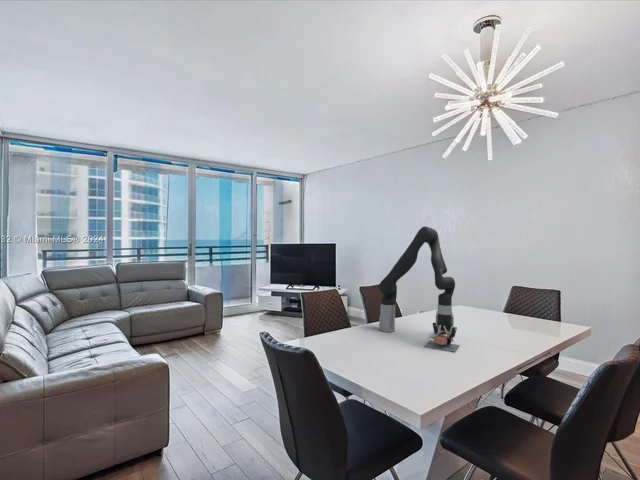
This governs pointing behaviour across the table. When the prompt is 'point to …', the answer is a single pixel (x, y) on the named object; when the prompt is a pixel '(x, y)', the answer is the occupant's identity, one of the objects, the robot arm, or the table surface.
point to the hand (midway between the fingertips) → (444, 343)
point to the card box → (441, 339)
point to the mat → (442, 346)
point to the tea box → (451, 323)
